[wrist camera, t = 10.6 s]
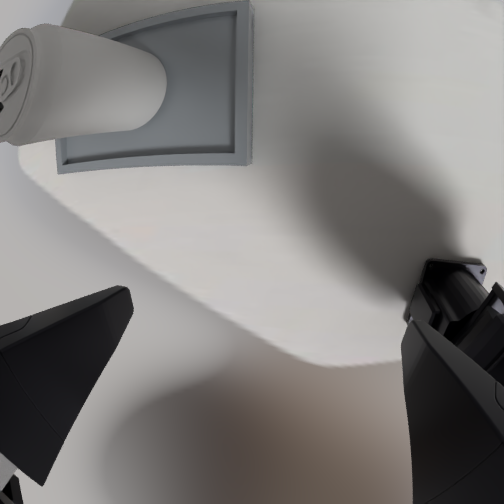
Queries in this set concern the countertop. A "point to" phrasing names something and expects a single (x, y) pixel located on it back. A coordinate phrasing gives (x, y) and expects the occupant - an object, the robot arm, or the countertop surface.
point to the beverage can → (74, 85)
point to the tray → (183, 95)
